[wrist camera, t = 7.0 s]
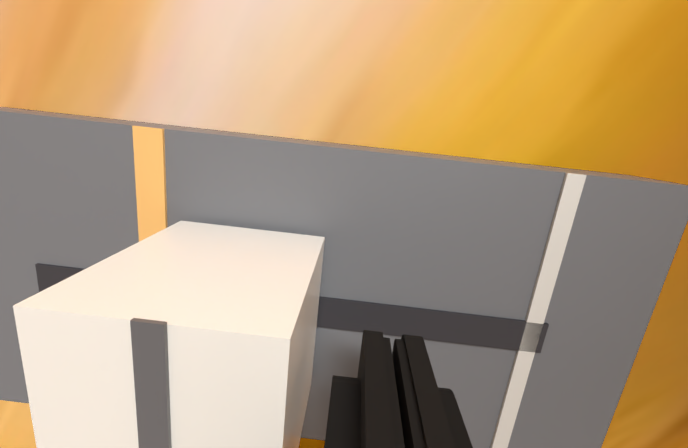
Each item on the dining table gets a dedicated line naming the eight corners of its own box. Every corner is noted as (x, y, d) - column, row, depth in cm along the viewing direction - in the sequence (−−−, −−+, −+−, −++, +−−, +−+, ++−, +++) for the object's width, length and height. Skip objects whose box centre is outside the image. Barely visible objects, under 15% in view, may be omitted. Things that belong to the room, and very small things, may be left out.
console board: (630, 175, 14) (703, 187, 11) (552, 416, 17) (592, 476, 14) (3, 107, 15) (-90, 101, 12) (40, 353, 18) (-25, 399, 15)
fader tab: (324, 235, 12) (289, 339, 6) (311, 384, 14) (272, 581, 8) (180, 219, 12) (5, 306, 6) (184, 369, 14) (49, 552, 8)
